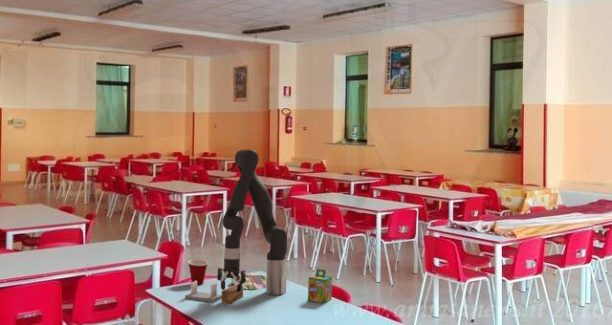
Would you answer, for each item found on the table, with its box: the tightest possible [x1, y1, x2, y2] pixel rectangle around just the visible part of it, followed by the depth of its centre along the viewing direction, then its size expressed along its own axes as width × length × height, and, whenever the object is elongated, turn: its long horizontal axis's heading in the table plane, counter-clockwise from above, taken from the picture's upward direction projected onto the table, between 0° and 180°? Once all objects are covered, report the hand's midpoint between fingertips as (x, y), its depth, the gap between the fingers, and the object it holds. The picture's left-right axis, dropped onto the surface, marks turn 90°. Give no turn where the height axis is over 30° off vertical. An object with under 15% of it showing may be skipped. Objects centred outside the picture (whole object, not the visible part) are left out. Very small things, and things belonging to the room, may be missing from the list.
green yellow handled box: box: [307, 268, 333, 304], centre depth 291 cm, size 9×9×15 cm
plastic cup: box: [187, 259, 209, 286], centre depth 317 cm, size 11×11×12 cm
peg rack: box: [184, 281, 222, 303], centre depth 290 cm, size 16×8×8 cm, turn 68°
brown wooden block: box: [221, 284, 244, 305], centre depth 288 cm, size 4×13×6 cm, turn 158°
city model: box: [230, 272, 267, 291], centre depth 318 cm, size 25×23×6 cm
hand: (231, 290), depth 288 cm, fingers open, 8 cm apart
